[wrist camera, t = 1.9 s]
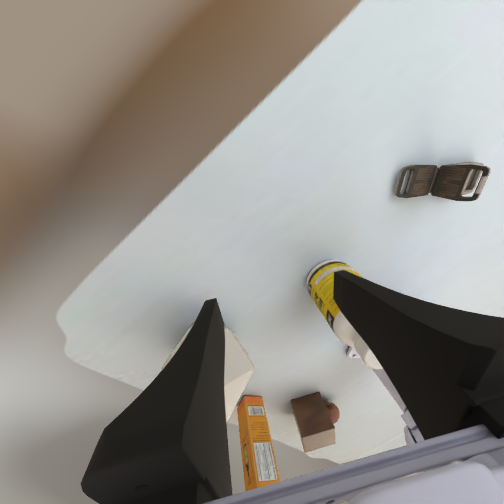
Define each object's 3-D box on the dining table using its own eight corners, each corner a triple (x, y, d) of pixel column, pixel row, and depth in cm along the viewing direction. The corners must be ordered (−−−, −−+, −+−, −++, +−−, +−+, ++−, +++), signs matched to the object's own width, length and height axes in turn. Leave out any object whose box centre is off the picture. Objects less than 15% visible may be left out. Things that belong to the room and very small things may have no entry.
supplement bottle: (295, 278, 23) (343, 353, 14) (336, 248, 22) (414, 310, 13) (318, 305, 25) (372, 384, 16) (356, 279, 24) (434, 349, 15)
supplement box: (256, 408, 33) (270, 503, 24) (236, 407, 32) (243, 505, 23) (264, 395, 31) (282, 490, 23) (244, 394, 30) (254, 492, 22)
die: (220, 291, 23) (139, 366, 15) (280, 346, 22) (226, 458, 14) (198, 322, 28) (130, 389, 20) (246, 368, 27) (193, 458, 19)
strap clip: (477, 161, 20) (538, 162, 16) (464, 192, 21) (518, 200, 17) (399, 165, 19) (445, 167, 15) (391, 198, 20) (431, 207, 16)
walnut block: (319, 391, 33) (335, 428, 29) (321, 407, 35) (335, 443, 31) (290, 400, 33) (301, 438, 29) (294, 415, 35) (304, 453, 31)
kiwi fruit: (306, 402, 34) (313, 420, 31) (335, 395, 34) (344, 413, 32) (305, 419, 36) (311, 437, 34) (332, 413, 37) (340, 431, 34)
